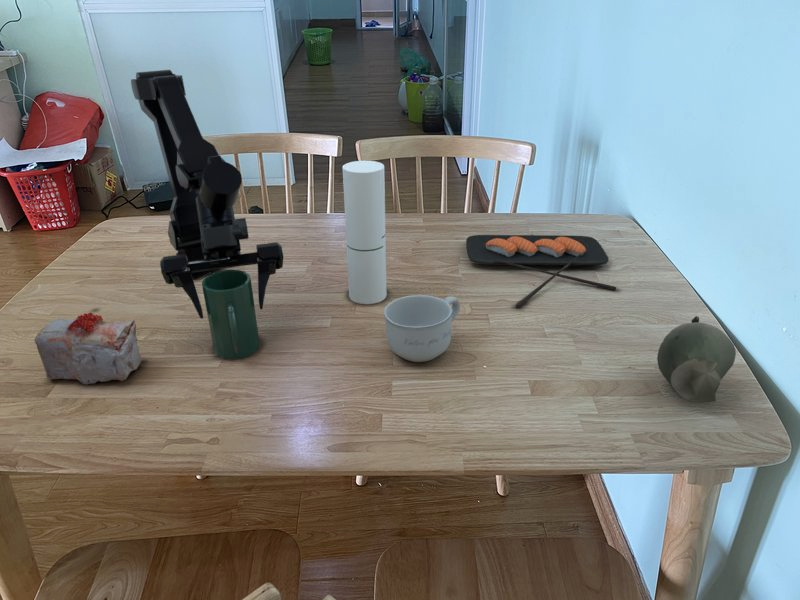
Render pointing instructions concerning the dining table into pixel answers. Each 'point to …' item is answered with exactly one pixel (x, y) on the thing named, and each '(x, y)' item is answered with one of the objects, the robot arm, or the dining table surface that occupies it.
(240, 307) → the mug
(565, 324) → the dining table surface
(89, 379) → the food item
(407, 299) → the teacup
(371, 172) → the cylindrical container
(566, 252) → the sushi plate
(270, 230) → the dining table surface
